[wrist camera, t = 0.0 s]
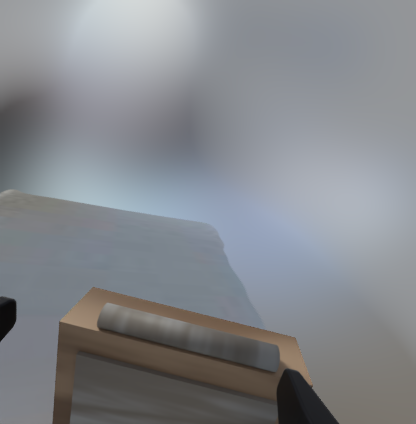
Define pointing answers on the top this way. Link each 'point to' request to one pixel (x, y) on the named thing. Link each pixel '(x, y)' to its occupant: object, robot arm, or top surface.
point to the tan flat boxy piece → (165, 365)
